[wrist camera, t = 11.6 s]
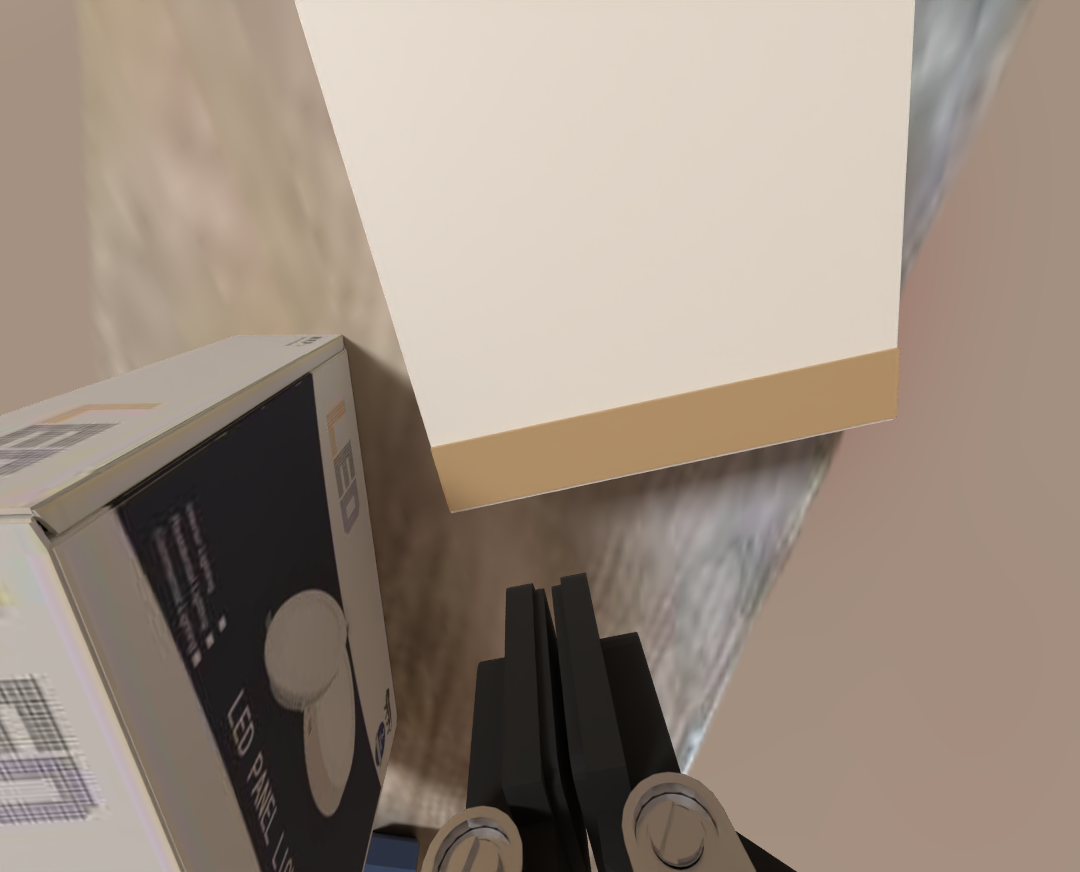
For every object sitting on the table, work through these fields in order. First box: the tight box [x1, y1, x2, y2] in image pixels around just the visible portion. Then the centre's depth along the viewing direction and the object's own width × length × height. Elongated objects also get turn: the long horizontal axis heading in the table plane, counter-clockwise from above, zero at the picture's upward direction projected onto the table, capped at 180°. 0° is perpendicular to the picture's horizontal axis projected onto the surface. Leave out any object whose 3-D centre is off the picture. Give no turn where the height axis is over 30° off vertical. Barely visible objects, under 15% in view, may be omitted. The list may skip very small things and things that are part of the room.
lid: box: [295, 0, 915, 513], centre depth 19 cm, size 20×18×1 cm
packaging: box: [0, 334, 397, 872], centre depth 24 cm, size 30×6×20 cm, turn 0°
